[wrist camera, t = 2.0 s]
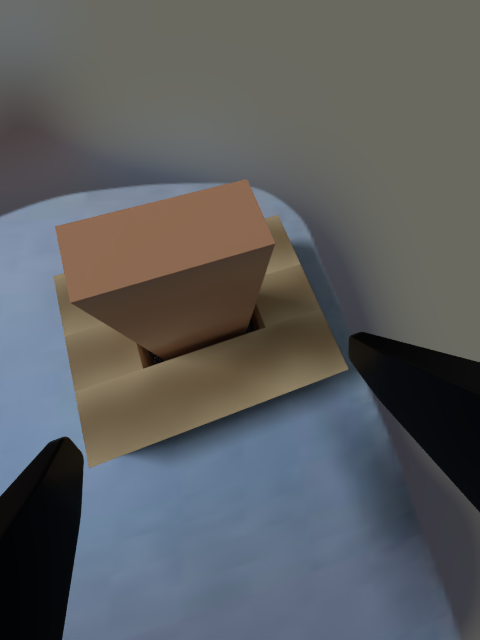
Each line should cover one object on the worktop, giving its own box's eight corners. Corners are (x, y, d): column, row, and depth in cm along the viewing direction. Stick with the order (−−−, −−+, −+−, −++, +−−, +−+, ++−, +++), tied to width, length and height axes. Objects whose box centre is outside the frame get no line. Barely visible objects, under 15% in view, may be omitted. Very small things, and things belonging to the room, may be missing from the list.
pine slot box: (327, 373, 20) (348, 369, 17) (114, 454, 18) (89, 468, 14) (270, 241, 23) (278, 215, 20) (81, 295, 21) (53, 276, 17)
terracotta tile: (244, 337, 20) (275, 243, 8) (168, 362, 20) (70, 302, 7) (234, 308, 21) (247, 179, 9) (160, 331, 20) (55, 226, 8)
